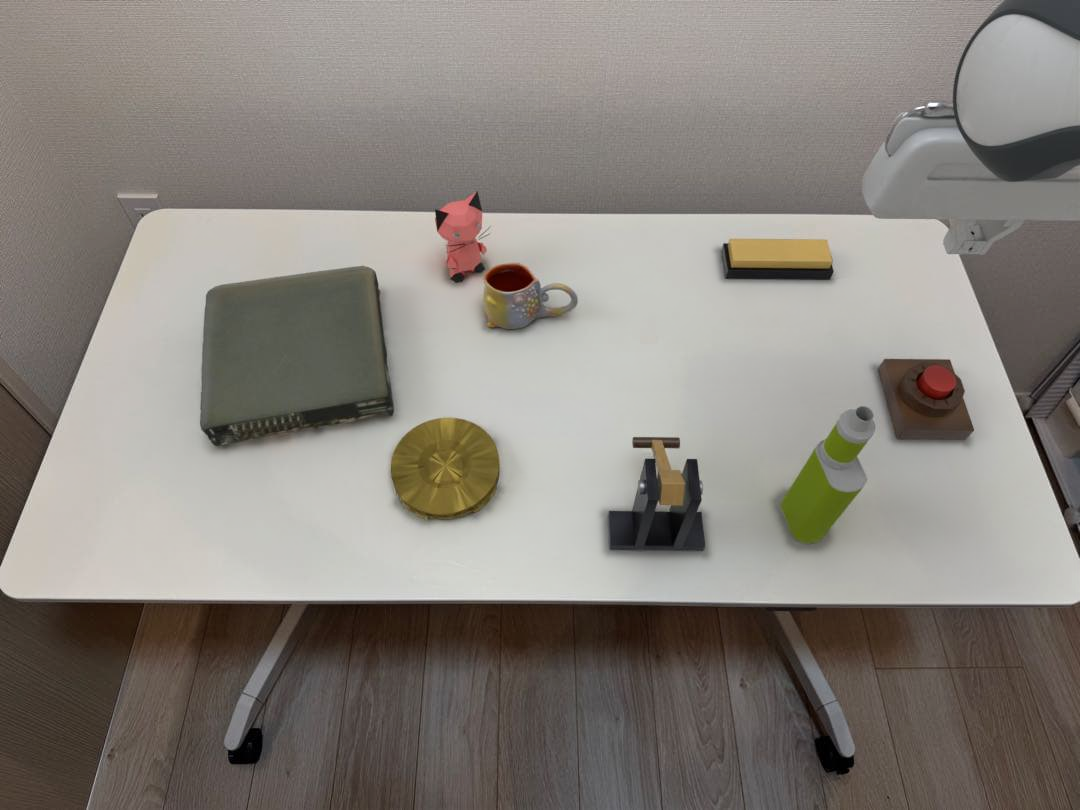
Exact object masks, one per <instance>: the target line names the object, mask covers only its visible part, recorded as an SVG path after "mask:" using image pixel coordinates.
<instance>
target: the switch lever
mask: <svg viewBox="0 0 1080 810" xmlns="http://www.w3.org/2000/svg"><path fill="white" fill-rule="evenodd" d="M631 441H632V446H631V447H632V448H633V449H651V453H652V455H653V458H655V462H656V470H657V471H656V474H657V486H658V498H659V500H658V503H659V506H671V505H681V506H682V505H683V500H684V489H685V482H684V480H683V477H682V471H681V470H680V469H672V465H671V463H670V460H669V457H668V455H667V450H666V449H680V448H681V439H680V437H679V436H678V437H677V436H675V437H674V436H673V437H672V436H671V437H670V436H666V437H665V436H632V440H631Z"/></svg>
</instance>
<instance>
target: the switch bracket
mask: <svg viewBox="0 0 1080 810" xmlns="http://www.w3.org/2000/svg"><path fill="white" fill-rule="evenodd" d="M681 474H682V477H683V480H684V482H685V489H684V500H683V505H682V506H681V505H669V509H668V511H662V510H661V511H660V510H659V511H657V510H656V509H657V507H658V503H659V498H658V486H657V466H656V462H655V458H654V457H652V458H651V457H650V458H649V457H645V458H644V461H643V465H642V469H641V474H640V477H639V479H638V481H637V489H636V492H635V497H634V500H633V505H632V509H631V510H608V515H607V519H608V520H607V521H608V524H607V525H608V545H609V546H608V547H609V548H608V549H609V550H610V551H689V552H690V551H692V552H693V551H694V552H695V551H696V552H697V551H698V552H702V551H705V548H706V540H705V532H704V523H703V513H702V511H698V510H699V508H700V505H701V504H702V501H703V498H702V495H703V492H704V484H703V483H704V482H703V481H702V480H700V472H699V463H698V459H697V458H687V459H686V461H685V463H684V466H683V469H682V471H681Z"/></svg>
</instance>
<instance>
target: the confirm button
mask: <svg viewBox="0 0 1080 810" xmlns="http://www.w3.org/2000/svg"><path fill="white" fill-rule="evenodd" d="M955 386H956V378H955V376H954V374H953V373H952V372H951V371H950V370H948V369H947V368H945V367H942V366H930V367H928V368H927V369H926V370H925V371H924V372H923V374H922V375H921V376H920V378H919V379H918V387H919V389H920V391H921V392H922V393H923V394H924V395H925V396H927V397H929V398H932V399H943V398H945V397H947V396H948V395H949V394H950V392H951V391H952V390H953V389H954V387H955Z"/></svg>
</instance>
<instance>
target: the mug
mask: <svg viewBox="0 0 1080 810" xmlns="http://www.w3.org/2000/svg"><path fill="white" fill-rule="evenodd" d="M482 281H483V284H484V288H483V294H482V306H483V310H484V313H485V315H486V317H487V318H488V321H487V322H486V325H487V327H488V328H492V329H493V328H496V327H499V328H501V329H504V330H505V329H506V330H518V329H521V328H524V327H526V326H528V325H529V324H530V323H532V322H533V321H534V320H535V319H538V318H545V317H555V316H556V317H557V316H560V315H564V314H567V313H569V312H572V311H573V310H574V309H576V307H577V305H578V302H579V298H578V294H577V293H576V291H574V289H572V288H571V287H570V286H568V285H567V284H564V283H559V282H554V283H549V284H547V285H544V286H541V282H540V280H539V279H538V278H537V277H536V276H535V274H534V273H533V272H532V270H531V269H530V268H529V267H527V266H526V265H524V264H522V263H520V262H505V263H499V264H496V265H494V266H492V267H491V268H490V269H488V270H487V271H486V272H485V273H484V275H483V277H482ZM555 290H557V291H558V290H560V291H563V292H564V293H566V294H567V295H568V296H569V297H570V302H569V303H567V304H565V305H562V306H558V307H557V306H556V307H555V306H554V307H553V306H547V305H545V304H544V303H547V302H548V301H549V300H550V295H549V294H548V293H547V292H549V291H555Z"/></svg>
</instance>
